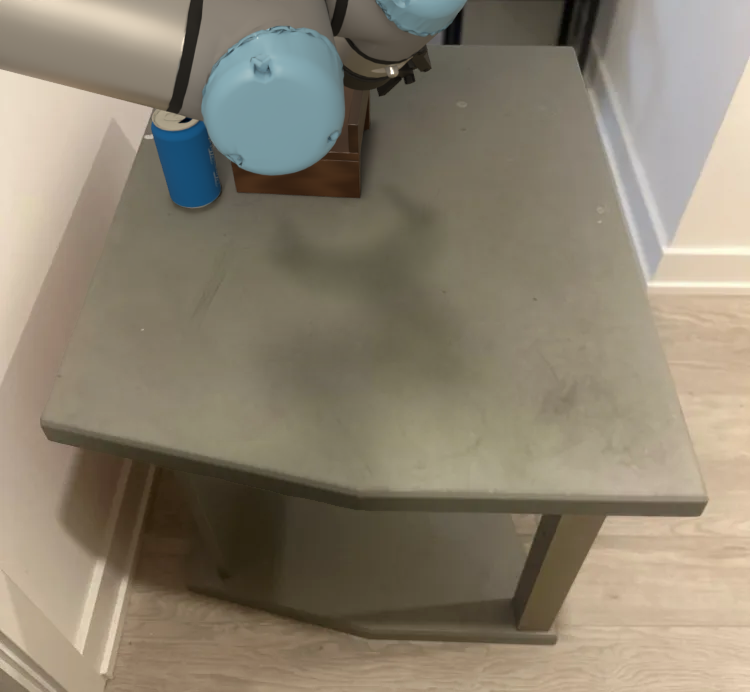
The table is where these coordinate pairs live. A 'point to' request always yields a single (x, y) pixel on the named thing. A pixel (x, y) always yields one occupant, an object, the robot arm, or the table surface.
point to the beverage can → (186, 159)
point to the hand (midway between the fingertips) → (321, 96)
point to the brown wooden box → (322, 161)
